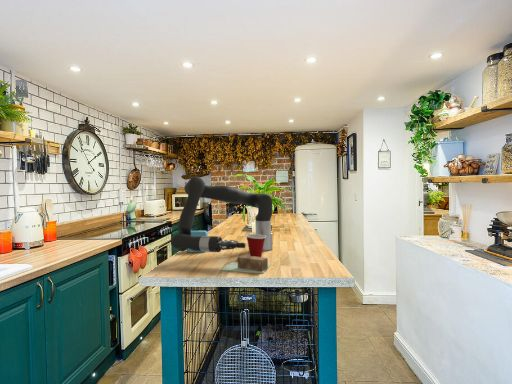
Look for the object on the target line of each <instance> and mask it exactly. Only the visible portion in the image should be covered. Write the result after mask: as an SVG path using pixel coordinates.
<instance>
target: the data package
mask: <svg viewBox="0 0 512 384" xmlns="http://www.w3.org/2000/svg"><path fill="white" fill-rule="evenodd" d="M191 236H209V233H208V230H191ZM186 252H187V253H206V252H205V251H195V250H191V249H189V248H188V249H187V250H186Z"/></svg>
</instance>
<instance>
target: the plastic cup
mask: <svg viewBox="0 0 512 384" xmlns="http://www.w3.org/2000/svg"><path fill="white" fill-rule="evenodd" d="M245 237H246V241H247V245H248V252H249V256H256V257H263V245H264V240H265V238H266V236H264V235H259V234H256V233H249V234H246V235H245Z"/></svg>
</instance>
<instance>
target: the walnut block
mask: <svg viewBox="0 0 512 384" xmlns="http://www.w3.org/2000/svg"><path fill="white" fill-rule="evenodd" d="M268 261H269V259H268V257H263V256H262V257H256V256H250V255H246V254H243V255H240V256H238V257H237V262H238V268H242V269H248V270H255V271H261V272H262V271H265V270H266V271H267V270H269V268H268V264H269V263H268ZM266 271H265V272H266Z"/></svg>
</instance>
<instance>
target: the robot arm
mask: <svg viewBox="0 0 512 384" xmlns="http://www.w3.org/2000/svg"><path fill="white" fill-rule="evenodd" d="M183 189H184V192H185V193H186V195H187V199H186V201H185V204H184V206H183V209H182V210H181V213H180V216H179V219H178V223H177V230H178V233H176V234H174V235H173V236H172V237H170V245H171V246H172V247H173V248H174V249H175V250H177V251H179V252H185V251H186V252H187V249H188V248H189V249H191V250H195V251H205V252H204V253H206V252H207V253H220V252H221V251H225V250H226V251H227V250H234V249H237V248H238V249H245V248H246V243H245V242H238V241H237V240H234V239H230V240H228V239H224V240H223V239H222V237H221V236H219V235H217V236H215V235H214V236H213V235H208V236H191V231H192V228H193V223H194V221H195V220H194V219H195V215H196V212H197V208H198V205H199V201H200V199H201V198H202V199H211V200H215V201H219V202H220V201H221V202H223V203H227V204H235V205H246V206H250V207H253V208H256V209H258V211H257V214H256V215H255V222H254V223H255V224H254V225H255V234H259V235H264V236H266V238H265V240H264V245H263V251H264V252H265V251H270V250H273V232H272V215H273V198H272V196H271V195H270V194H268V193H257V192H256V193H253V192H247V191H245V190H243V189H241V188H237V187H233V186H230V185H212V186H211V185H206V183H205V180H204V179H203V178H202V177H200V176H194V177H191V178H190V179H189V180H188V181H187V182H186V183H185V185H184V188H183ZM263 251H262V252H263Z"/></svg>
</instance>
